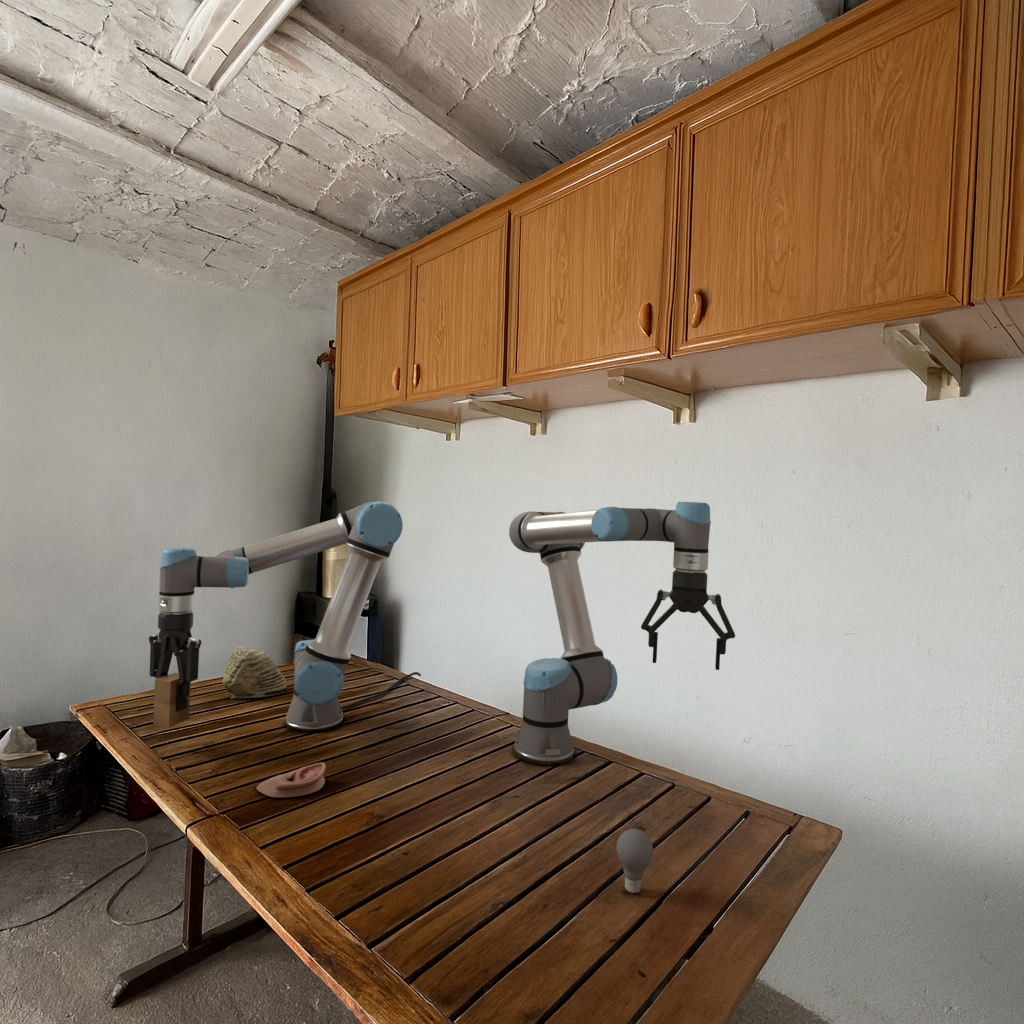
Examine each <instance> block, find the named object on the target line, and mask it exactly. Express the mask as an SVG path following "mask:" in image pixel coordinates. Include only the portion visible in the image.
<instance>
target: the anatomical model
mask: <svg viewBox="0 0 1024 1024" xmlns="http://www.w3.org/2000/svg"><path fill="white" fill-rule="evenodd" d="M326 768H327V765H326V763H325V762H316V763H313V764H309V765H306V766H302V767H300V768H297V769H294V770H292V771H289V772H286V773H282V774H278V775H275V776H273V777H270V778H267V779H265V780H264V781H262V782H261V783H259V784H258V785H256V790H257V792H259V793H261V794H263V795H264V796H267V797H270V798H275V799H278V798H293V797H294V798H295V797H300V796H301V797H302V796H306V795H309V794H312V793H315V792H318V791H320V790H321V789H322V788H323V787H324V785H325V783H326V778H325V777H324V775H325V772H326V770H327V769H326Z"/></svg>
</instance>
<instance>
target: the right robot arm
mask: <svg viewBox="0 0 1024 1024" xmlns="http://www.w3.org/2000/svg"><path fill="white" fill-rule="evenodd" d="M711 524H712V522H711V507H710V505H709V504H708V503H707V502H700V501H699V502H697V501H678V502H677V503H676V504H675V509H663V508H662V509H661V508H660V509H659V508H650V507H648V508H647V507H646V508H634V507H633V508H630V507H617V506H607V507H606V506H605V507H600V508H598V509H592V510H583V511H573V512H564V511H532V510H531V511H525V512H521V513H520V514H517V515H516V516H515V517H514V518H513V519H512V521H511V522H510V524H509V529H508V535H509V539H510V541H511V543H512V544H513V546H514V547H515V548H517V549H518V550H519V551H521V552H524V553H529V554H539V556H540V561H541V563H542V564H543V565H545V566H546V567H547V568H548V575H549V579H550V584H551V590H552V594H553V599H554V605H555V609H556V614H557V620H558V624H559V630H560V634H561V640H562V645H563V653H562V655H561V656H560V658H559V657H552V658H549V657H545V658H540V659H536V660H533V661H532V662H529V664H528V665H527V666H526V667H525V671H524V678H523V702H522V703H523V704H522V720H521V721H522V722H521V725H520V728H519V730H518V732H517V736H516V737H515V738H516V739H515V741H514V743H513V745H514V746H513V753H514V755H515V756H516V757H517V758H518V759H520V760H521V761H524V762H526V763H529V764H533V765H540V766H556V765H557V766H558V765H563V764H565V763H568V762H570V761H572V760H573V759H574V756H575V746H574V744H573V740H572V736H571V732H570V728H569V711H570V710H575V709H580V708H585V707H586V708H587V707H591V706H598V705H601V704H603V703H606V702H608V701H610V700H611V699H612V698H613V697H614V694H615V692H616V691H617V687H618V672H617V669H616V667H615V664H613V663H612V660H610V659H608V658H605V656H604V651H603V649H602V648H600V647H599V646H597V644H596V640H595V636H594V631H593V627H592V622H591V617H590V613H589V608H588V604H587V597H586V593H585V590H584V584H583V580H582V575H581V570H580V566H579V562H578V561H579V559H580V557H581V556H582V549H583V548H584V546H585V543H600V542H631V541H632V542H666V543H673V560H672V567H673V569H674V570H673V571H672V577H671V578H672V579H671V591H666V590H663V589H662V588H661V589H660V588H659V590H657V594H656V599H655V601H654V603H653V605H652V606H651V608H650V609H649V612H648V613H647V614H646V615H645V618H644V619H643V622H642V623H641V625H640V628H641V630H643V631H646V632H647V633H648V643H647V645H648V647H649V648H652V664H656V663H657V659H658V642H659V641H658V639H659V632H658V631H657V630H658V629H659V628H660V627H661V626H662V625H663V624H664V623H665V622H666V621H667V620H668V619H669V618H670V617H671V616H672V615H673V614H674V613H675V612H676V611H679V612H680V613H690V614H696V613H700V614H701V616H702V617H703V618H704V620H706V622H707V623H708V624H709V626H710V627H711V629H713V631H714V632H715V633H716V635H717V636H718V637H716V646H715V666H714V667H715V670H716V671H720V663H721V655H724V656H725V655H726V651H727V640H730V639H735V638H736V633H735V631H734V628H733V626H732V624H731V621H730V620H729V617H728V615H727V613H726V611H725V609H724V607H723V604H722V596H721V594H720V593H716V594H708V573H707V572H706V571H708V569H709V553H710V552H709V542H710V532H711ZM667 598H669V599H670V601H671V602H672V604H671V605H670V606H669V607H668V609H667V610H666V611H664V613H662V614H661V616H659V618H658V619H657V620H655V621H654V622H653V623H652V624H651V625H650V623H651V621H652V619H653V617H654V616H655V614H656V612H657V611H658V609H659V607H660V606H661V604H662V601H665V600H667ZM709 601H710V602H711V604H712V605H715V607H716V609H717V612H718V614H719V617H720V619H721V621H722V623H723V626H724V627H725V629H726V632H724V630H723V629H722V628H721V626H720V625H719V624H718V622H717V621H716V620H715V619H714V618H713V616H712V615H711V614H710V612H709V610H707V608H706V607H705V605H706V604H707V603H708V602H709Z"/></svg>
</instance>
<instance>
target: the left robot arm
mask: <svg viewBox="0 0 1024 1024" xmlns="http://www.w3.org/2000/svg"><path fill="white" fill-rule="evenodd" d="M403 525H404V524H403V518H402V515H401V513H400V512H399V510H398V508H396V507H395V506H394V505H392V504H391V503H389V502H386V501H382V500H370V501H367V502H364V503H362V504H360V505H358V506H356V507H354V508H351V509H348V510H346V511H343V512H339V513H338V515H337V517H336V518H335V517H334V518H332V519H329V520H326V521H322V522H319V523H316V524H313V525H310V526H305V527H304V528H303V527H302V528H299V529H297V530H294V531H289V532H287V533H284V534H280V535H277V536H273V537H270V538H267V539H265V540H264V539H263V540H261V541H258V542H255V543H251V544H248V545H244V546H242V547H238V548H234V549H231V550H230V549H229V550H225V551H222V552H220V553H219V554H217V555H216V556H200V555H198V554H197V550H196V548H195V547H185V546H184V547H181V546H176V547H175V546H173V547H166V548H164V549H162V551H161V556H160V565H159V587H158V588H159V592H158V611H159V613H158V615H157V629H159V632H158V634H154V635H150V636H148V641H149V646H150V647H149V649H150V650H149V651H150V652H149V676H150V677H151V678H154V679H156V678H159V677H163V676H166V675H169V671H170V666H171V663H172V659H173V656H175V658H176V665H177V673H179V680H180V682H178V684H177V693H176V711H181V710H183V709H186V708H187V697H188V696H189V694H190V695H191V683H192V682H194V681H196V680H198V679H199V664H200V663H199V661H200V648H201V646H202V643H203V642H202V640H201V639H199V638H198V639H195V638H194V637H193V635H192V632H191V631H192V628H193V626H194V609H195V588H228V589H234V588H246V587H247V585H248V582H249V575H252V574H254V573H257V572H260V571H264V570H266V569H270V568H274V567H276V566H280V565H282V564H287V563H289V562H292V561H295V560H299V559H302V558H306V557H309V556H312V555H314V554H317V553H321V552H324V551H327V550H331V549H333V548H338V547H340V546H343V545H346V546H347V549H348V554H347V557H346V559H345V561H344V564H343V566H342V570H341V572H340V575H339V577H338V580H337V583H336V585H335V588H334V589H333V592H332V595H331V598H330V600H329V603H328V606H327V607H326V611H325V613H324V616H323V619H322V621H321V623H320V626H319V628H318V630H317V631H318V632H317V634H316V636H315V638H313V639H306V640H305V639H304V640H300V641H298V642H297V643H295V648H294V649H295V650H293V651H294V672H293V673H294V674H293V675H294V676H293V695H292V696H293V697H292V699H291V702H290V704H289V706H288V711H287V713H286V715H285V726H286V728H287V729H289V730H291V731H294V732H295V731H296V732H301V733H316V732H325V731H329V730H332V729H335V728H337V727H339V726H340V725H342V723H343V722H344V714H343V710H344V709H349V708H350V707H353V706H356V705H359V704H362V703H364V702H367V701H370V700H373V699H376V698H378V697H381V696H383V695H384V694H386V693H388V692H389V691H391V690H392V689H394V687H395V686H397V685H399V683H401V682H403V681H404V680H405V679H409V678H410V677H412V676H414V675H415V676H419V677H421V676H422V674H421V673H420V672H419V671H414V672H411V673H409V674H407V675H405V676H403V677H400V678H399V679H398V680H397V681H396V682H395V681H394V683H393V684H392V685H391V686H389V687H388V688H386V689H385V690H383V691H380V692H379V693H377V694H374V695H371V696H368V697H365V698H362V699H359V700H357V701H353V702H351V703H348V704H345V705H341V702H340V699H339V696H340V694H341V693H342V690H343V688H344V683H345V679H344V677H345V673H346V671H347V669H348V667H349V666H348V665H349V663H350V661H351V658H352V655H351V653H350V651H349V647H350V644H351V642H352V638H353V636H354V633H355V631H356V628H357V626H358V623H359V620H360V619H361V615H362V612H363V610H364V607H365V605H366V603H367V600H368V596H369V594H370V592H371V589H372V586H373V584H374V581H375V578H376V576H377V574H378V571H379V568H380V565H381V563H383V562H384V561H386V560H388V559H389V558H390V556H391V553H392V551H393V548H394V545H395V543H397V541H398V540H399V538H400V537H401V535H402V532H403V528H404V526H403ZM185 677H186V678H185Z"/></svg>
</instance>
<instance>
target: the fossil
mask: <svg viewBox="0 0 1024 1024" xmlns="http://www.w3.org/2000/svg"><path fill="white" fill-rule="evenodd" d="M222 676H223V677H222V685H223V687H224V688H225V690H226V691H228V693H229V698H230V699H250V698H264V697H271V696H275V695H281V694H284V693H285V691H286V689H287V687H288V686H287V680H286V678H285V676H284V674H283V673H282V672H281V669H279V668H278V667H277V665H276V663H275V662H274V660H273V659H272V658H271V657H270V656H269V655H268V654H267V653H266V652H265V650H264V649H263V648H260V647H258V648H251V647H247V646H246V647H245V646H238V647H237V648H236V649H235V650H233V651H232V653H231V656H230V657H229V659H228V660H227V663H226V666H225V668H224V671H223V675H222Z"/></svg>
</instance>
